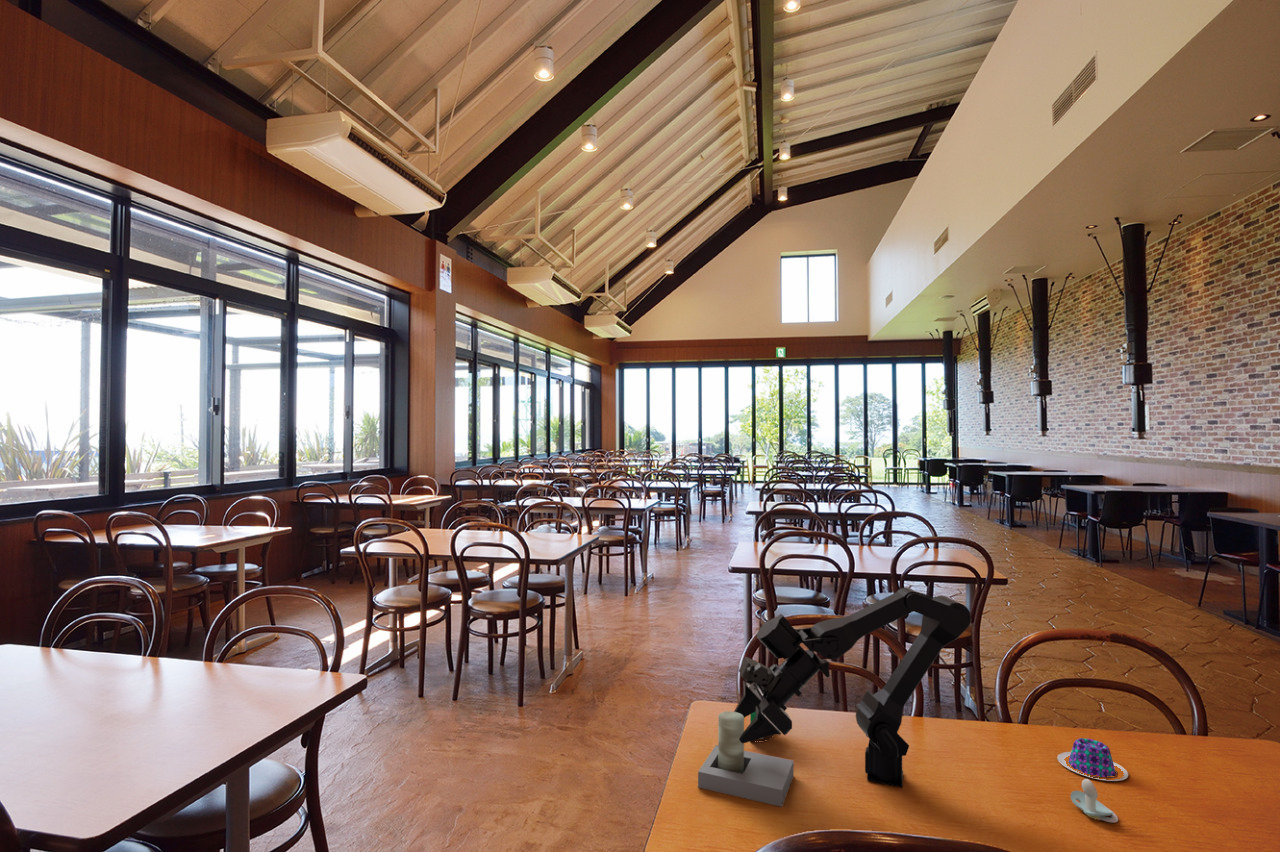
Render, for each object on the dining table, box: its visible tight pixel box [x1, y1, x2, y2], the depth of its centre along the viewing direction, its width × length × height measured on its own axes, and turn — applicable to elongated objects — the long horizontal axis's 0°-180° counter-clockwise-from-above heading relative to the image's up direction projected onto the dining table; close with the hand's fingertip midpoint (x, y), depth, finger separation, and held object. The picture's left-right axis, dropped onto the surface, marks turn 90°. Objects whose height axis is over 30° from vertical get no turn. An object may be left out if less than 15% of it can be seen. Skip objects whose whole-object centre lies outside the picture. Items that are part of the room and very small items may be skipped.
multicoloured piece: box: [1057, 737, 1129, 782], centre depth 134 cm, size 12×12×5 cm
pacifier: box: [1070, 778, 1119, 824], centre depth 117 cm, size 7×6×6 cm
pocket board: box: [697, 744, 795, 808], centre depth 126 cm, size 16×12×3 cm
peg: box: [717, 710, 745, 774], centre depth 128 cm, size 5×5×12 cm
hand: (736, 730), depth 128 cm, fingers open, 9 cm apart
